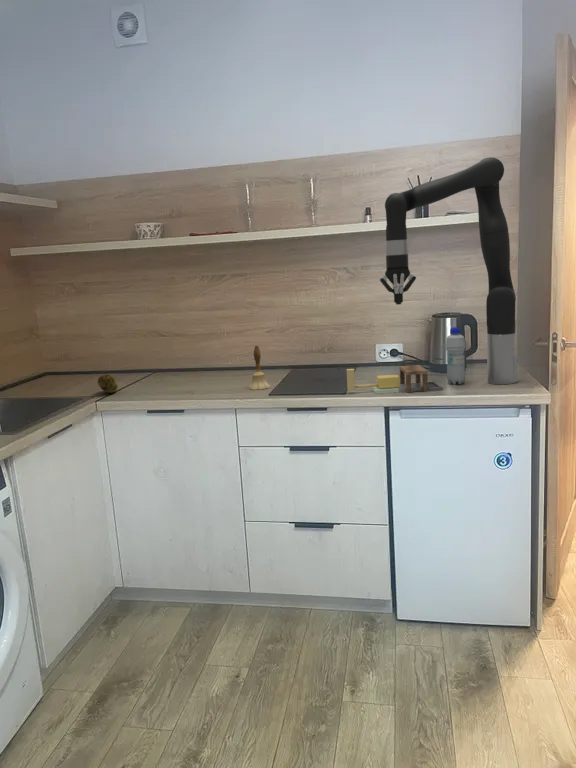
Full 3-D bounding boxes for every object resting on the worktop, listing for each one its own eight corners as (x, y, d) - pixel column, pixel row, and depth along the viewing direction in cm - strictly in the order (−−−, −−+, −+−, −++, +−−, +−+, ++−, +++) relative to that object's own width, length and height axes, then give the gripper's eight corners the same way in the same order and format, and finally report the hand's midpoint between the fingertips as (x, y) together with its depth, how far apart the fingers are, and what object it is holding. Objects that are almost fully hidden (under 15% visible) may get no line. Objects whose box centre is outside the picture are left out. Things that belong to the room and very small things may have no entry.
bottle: (452, 386, 219) (451, 328, 216) (442, 382, 226) (441, 327, 222) (469, 384, 221) (469, 327, 217) (459, 380, 227) (458, 325, 224)
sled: (396, 384, 221) (396, 365, 220) (399, 387, 216) (399, 367, 215) (347, 387, 221) (346, 368, 220) (348, 390, 216) (347, 370, 215)
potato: (125, 389, 253) (123, 370, 251) (113, 396, 240) (111, 375, 239) (105, 390, 254) (103, 370, 252) (92, 397, 241) (90, 376, 240)
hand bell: (245, 387, 241) (242, 346, 238) (266, 384, 244) (263, 343, 241) (252, 391, 234) (249, 348, 231) (273, 388, 237) (270, 345, 234)
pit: (434, 384, 225) (434, 381, 224) (442, 390, 214) (442, 387, 214) (421, 385, 224) (421, 382, 224) (428, 391, 214) (428, 388, 214)
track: (422, 385, 223) (422, 382, 223) (427, 390, 215) (427, 386, 215) (371, 389, 223) (371, 385, 223) (375, 393, 215) (375, 390, 215)
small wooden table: (419, 384, 225) (419, 364, 224) (427, 391, 213) (427, 370, 212) (400, 386, 225) (399, 366, 224) (407, 393, 213) (406, 372, 212)
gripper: (413, 252, 221) (414, 302, 224) (376, 255, 221) (377, 304, 224) (418, 252, 214) (419, 303, 217) (379, 254, 213) (381, 306, 217)
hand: (398, 304), depth 220 cm, fingers closed
